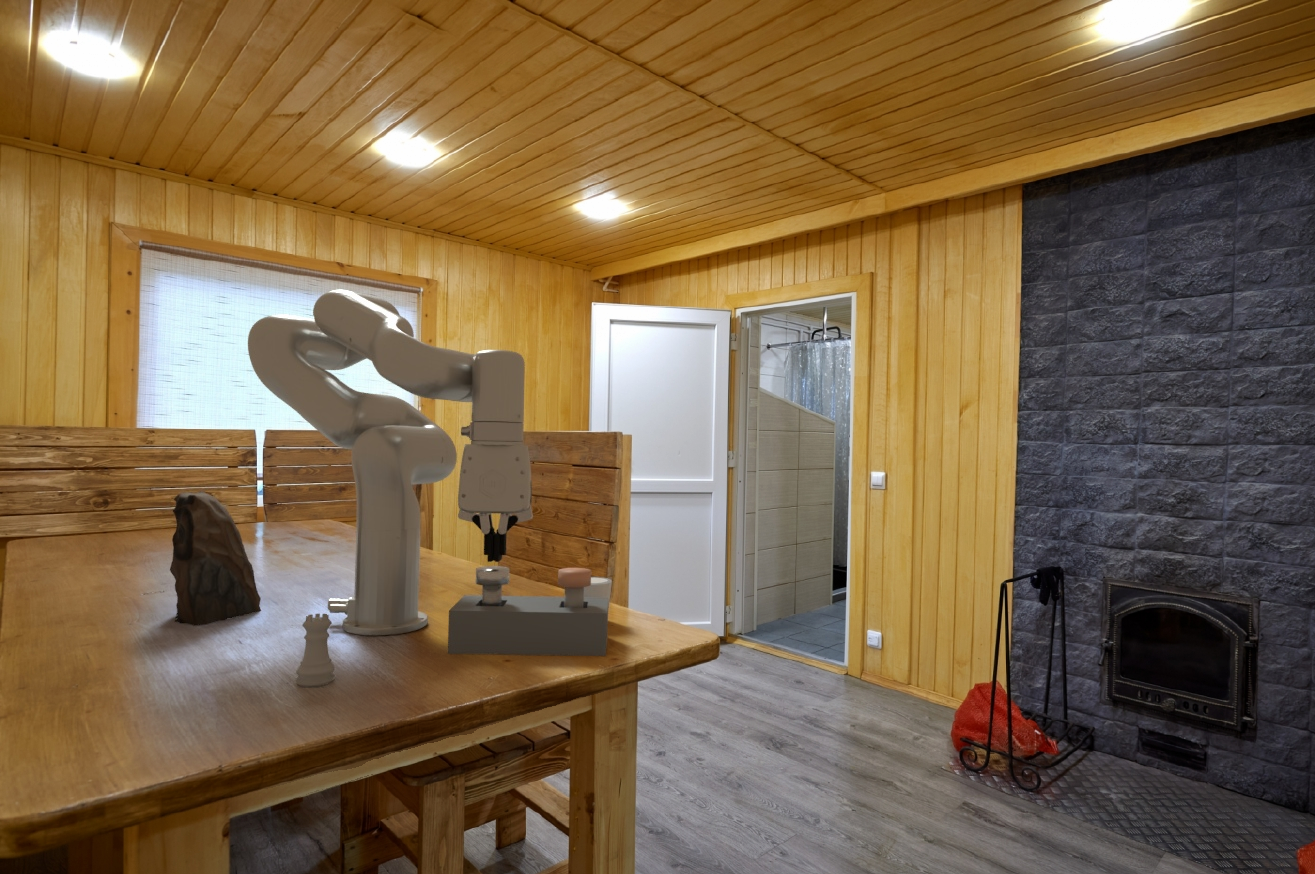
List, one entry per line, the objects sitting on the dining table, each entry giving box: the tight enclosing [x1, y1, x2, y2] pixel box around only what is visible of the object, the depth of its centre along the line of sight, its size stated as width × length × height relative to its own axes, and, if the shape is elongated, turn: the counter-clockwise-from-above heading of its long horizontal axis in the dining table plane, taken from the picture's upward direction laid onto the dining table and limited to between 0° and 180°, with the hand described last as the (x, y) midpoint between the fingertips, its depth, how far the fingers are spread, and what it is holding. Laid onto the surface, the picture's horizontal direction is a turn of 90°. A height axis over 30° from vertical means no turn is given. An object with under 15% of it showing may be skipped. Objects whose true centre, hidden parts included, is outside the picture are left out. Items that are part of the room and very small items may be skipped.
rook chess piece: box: [294, 613, 336, 688], centre depth 87 cm, size 4×4×8 cm
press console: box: [447, 594, 609, 657], centre depth 105 cm, size 22×10×6 cm, turn 93°
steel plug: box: [475, 565, 510, 606], centre depth 105 cm, size 5×5×8 cm
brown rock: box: [169, 490, 262, 627], centre depth 116 cm, size 13×13×20 cm
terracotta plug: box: [557, 567, 592, 608], centre depth 105 cm, size 5×5×8 cm
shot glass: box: [584, 576, 613, 612], centre depth 120 cm, size 7×7×7 cm
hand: (494, 560), depth 105 cm, fingers closed
